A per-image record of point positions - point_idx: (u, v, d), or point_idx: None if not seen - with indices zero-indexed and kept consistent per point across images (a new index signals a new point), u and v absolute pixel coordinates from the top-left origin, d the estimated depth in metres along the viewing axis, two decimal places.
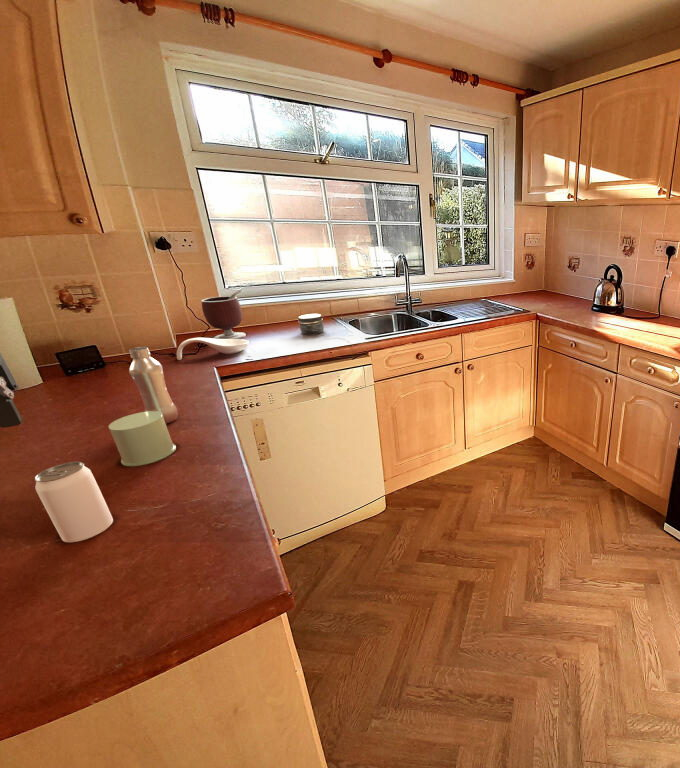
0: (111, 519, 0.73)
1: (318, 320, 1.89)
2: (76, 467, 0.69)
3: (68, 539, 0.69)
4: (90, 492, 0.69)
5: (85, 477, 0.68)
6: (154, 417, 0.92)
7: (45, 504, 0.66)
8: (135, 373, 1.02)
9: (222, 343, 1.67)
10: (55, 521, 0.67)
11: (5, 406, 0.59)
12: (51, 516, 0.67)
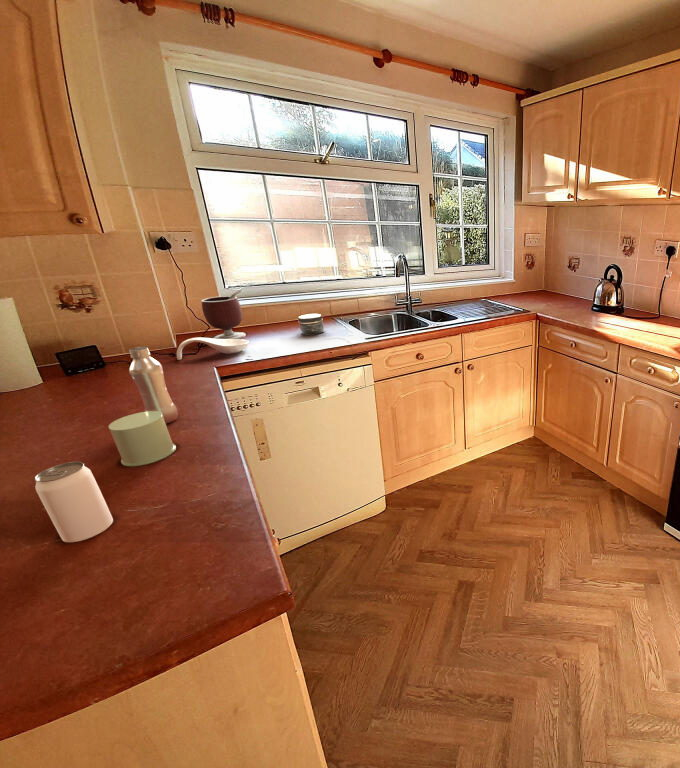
0: (111, 519, 0.73)
1: (318, 320, 1.89)
2: (76, 467, 0.69)
3: (67, 539, 0.69)
4: (90, 492, 0.69)
5: (85, 477, 0.68)
6: (154, 417, 0.92)
7: (45, 504, 0.66)
8: (135, 373, 1.02)
9: (222, 343, 1.67)
10: (55, 521, 0.67)
11: None
12: (51, 516, 0.67)
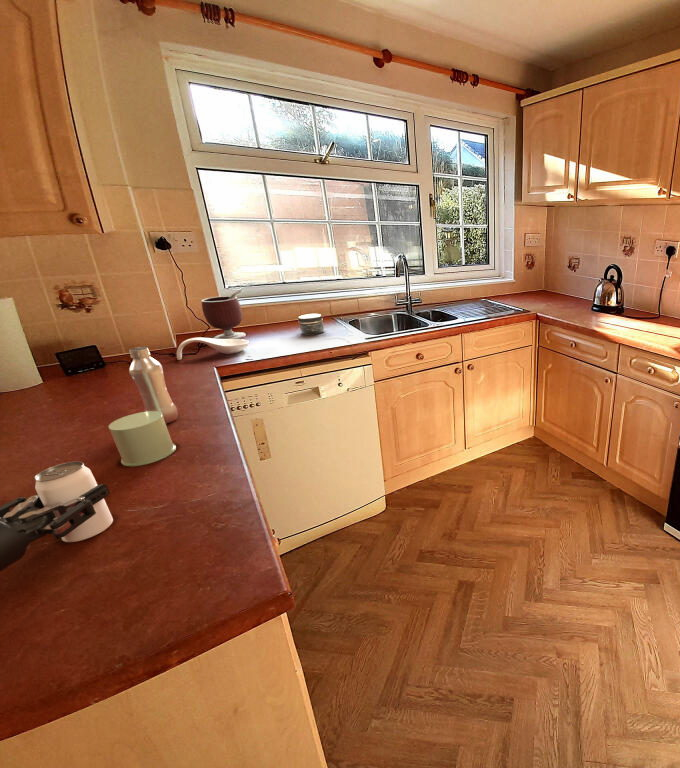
0: (111, 519, 0.73)
1: (318, 320, 1.89)
2: (76, 467, 0.69)
3: (67, 539, 0.69)
4: None
5: (85, 476, 0.68)
6: (154, 417, 0.92)
7: (45, 504, 0.66)
8: (135, 373, 1.02)
9: (222, 343, 1.67)
10: None
11: None
12: None
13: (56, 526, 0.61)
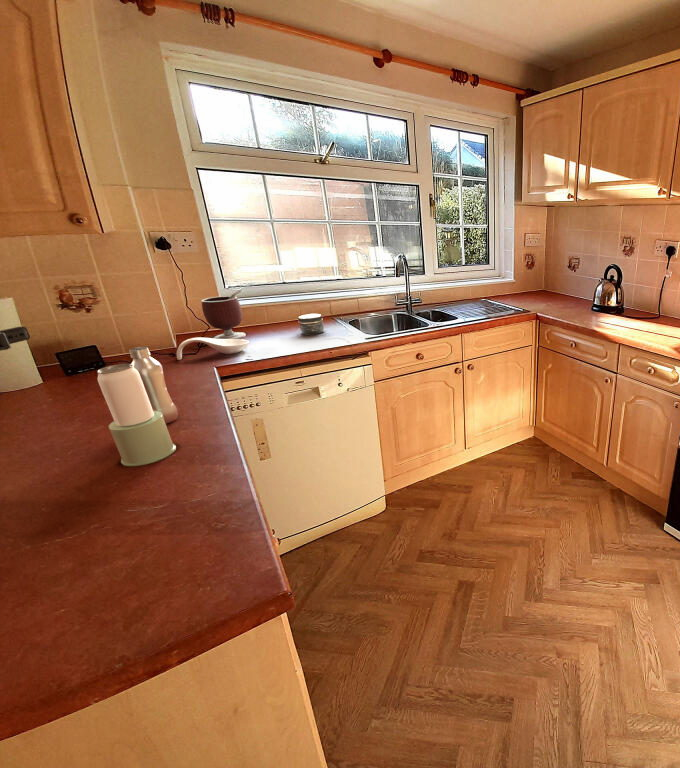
0: (153, 413, 0.92)
1: (318, 320, 1.89)
2: (127, 367, 0.88)
3: (121, 423, 0.87)
4: (138, 387, 0.88)
5: (135, 374, 0.87)
6: (154, 417, 0.92)
7: (105, 392, 0.85)
8: None
9: (222, 343, 1.67)
10: (112, 407, 0.86)
11: None
12: (109, 403, 0.86)
13: None
